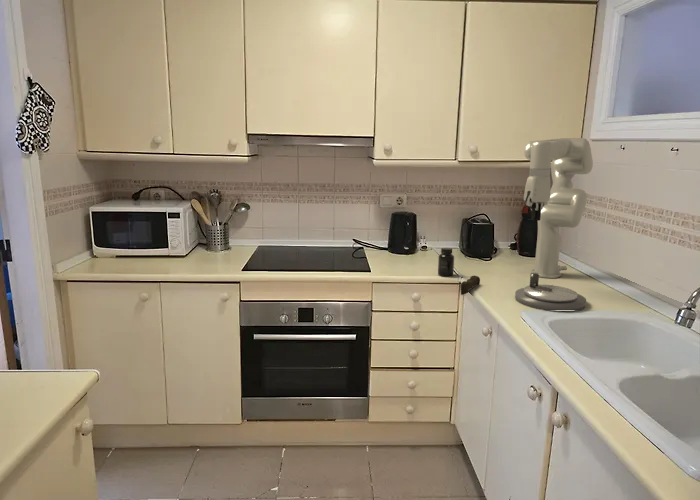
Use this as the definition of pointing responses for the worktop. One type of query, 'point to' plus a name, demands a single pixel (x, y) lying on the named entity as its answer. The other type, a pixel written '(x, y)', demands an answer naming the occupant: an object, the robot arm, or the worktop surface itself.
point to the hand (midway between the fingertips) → (535, 220)
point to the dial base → (539, 304)
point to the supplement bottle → (446, 263)
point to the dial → (548, 291)
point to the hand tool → (469, 284)
